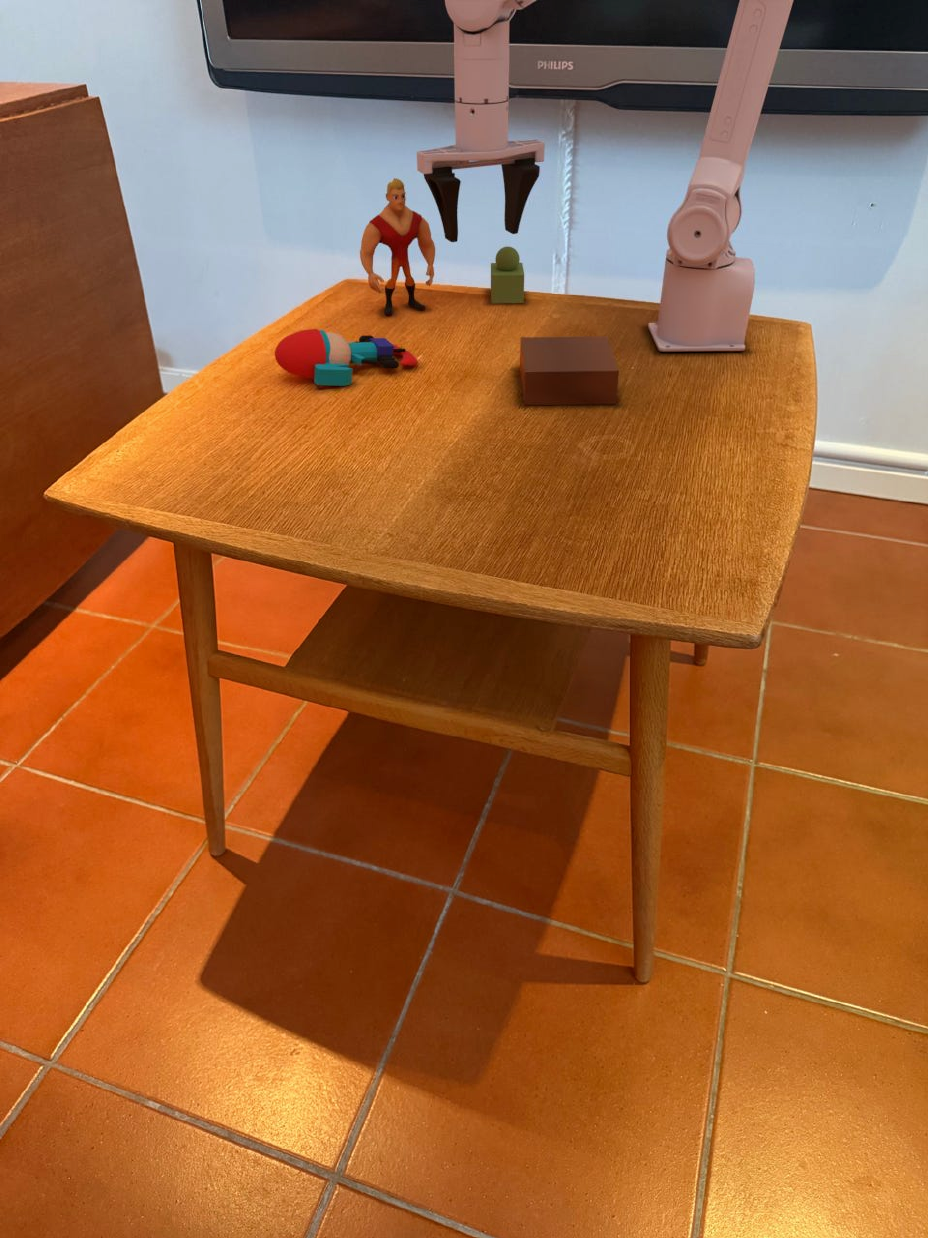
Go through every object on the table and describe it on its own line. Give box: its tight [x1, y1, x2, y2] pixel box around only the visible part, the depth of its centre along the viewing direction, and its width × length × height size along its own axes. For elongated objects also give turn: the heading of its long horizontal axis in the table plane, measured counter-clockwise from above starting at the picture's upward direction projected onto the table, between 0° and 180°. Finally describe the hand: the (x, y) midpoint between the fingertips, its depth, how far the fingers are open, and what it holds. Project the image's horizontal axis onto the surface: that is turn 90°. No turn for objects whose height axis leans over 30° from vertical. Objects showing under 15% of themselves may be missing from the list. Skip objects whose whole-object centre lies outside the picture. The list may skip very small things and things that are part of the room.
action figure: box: [359, 177, 436, 316], centre depth 104 cm, size 10×4×15 cm, turn 114°
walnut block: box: [519, 336, 620, 406], centre depth 89 cm, size 9×9×4 cm
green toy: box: [490, 246, 525, 305], centre depth 110 cm, size 4×5×6 cm
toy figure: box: [274, 328, 419, 387], centre depth 93 cm, size 8×5×15 cm
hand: (481, 235), depth 102 cm, fingers open, 7 cm apart
